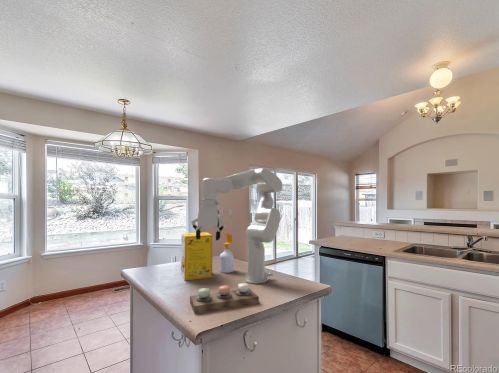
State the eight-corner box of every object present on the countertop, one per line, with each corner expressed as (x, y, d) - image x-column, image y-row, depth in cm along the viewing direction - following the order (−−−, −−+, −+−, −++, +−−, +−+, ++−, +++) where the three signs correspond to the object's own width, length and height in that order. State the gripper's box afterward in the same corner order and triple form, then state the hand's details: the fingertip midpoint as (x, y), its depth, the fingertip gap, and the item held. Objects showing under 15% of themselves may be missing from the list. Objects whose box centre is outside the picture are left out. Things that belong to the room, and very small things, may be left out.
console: (248, 294, 125) (248, 286, 125) (258, 303, 113) (258, 295, 114) (190, 302, 114) (190, 294, 115) (194, 313, 103) (194, 304, 103)
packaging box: (180, 273, 163) (181, 233, 164) (206, 270, 169) (206, 232, 170) (184, 280, 148) (184, 236, 149) (212, 277, 153) (212, 235, 155)
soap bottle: (216, 271, 166) (216, 233, 167) (225, 268, 173) (225, 231, 175) (227, 273, 161) (227, 234, 162) (236, 270, 168) (236, 232, 170)
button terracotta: (227, 290, 117) (227, 285, 117) (231, 293, 113) (231, 288, 113) (217, 291, 116) (217, 286, 116) (220, 295, 111) (220, 289, 111)
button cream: (246, 287, 121) (246, 282, 121) (250, 291, 116) (250, 285, 116) (236, 289, 119) (236, 283, 119) (240, 292, 114) (240, 287, 115)
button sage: (208, 293, 114) (208, 287, 114) (210, 296, 110) (210, 290, 110) (197, 294, 112) (197, 288, 112) (199, 298, 108) (199, 292, 108)
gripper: (228, 204, 127) (227, 239, 125) (195, 203, 130) (194, 238, 129) (224, 203, 119) (223, 241, 118) (189, 203, 123) (187, 239, 121)
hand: (207, 239), depth 123 cm, fingers open, 9 cm apart
